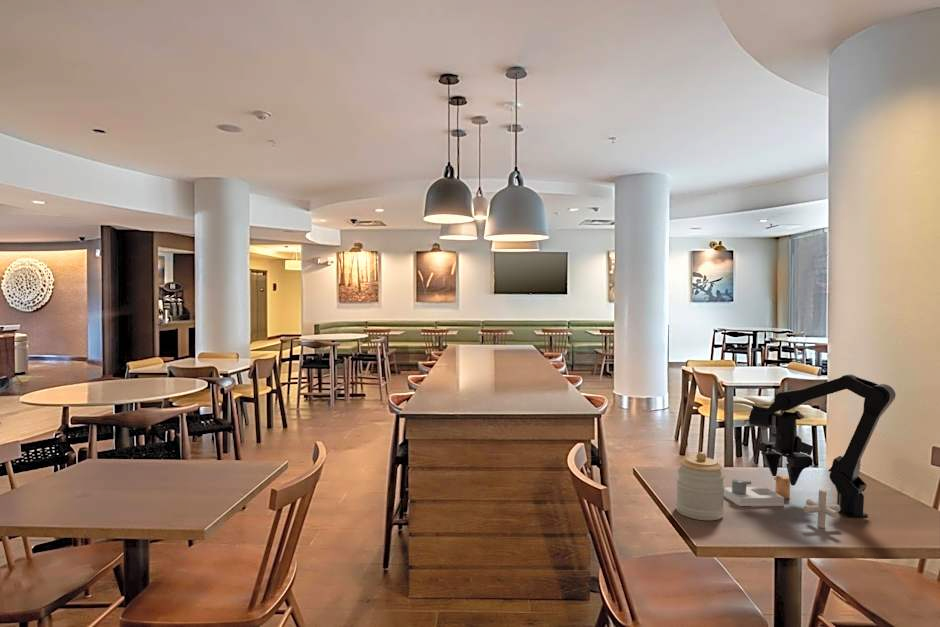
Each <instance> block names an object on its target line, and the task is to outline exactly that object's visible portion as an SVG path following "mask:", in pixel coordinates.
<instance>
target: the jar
mask: <svg viewBox="0 0 940 627" xmlns="http://www.w3.org/2000/svg"><path fill="white" fill-rule="evenodd" d="M679 463H680V466H679V467H678V468H676V471H677V473H678V478H677V479H676V500H675V507H676V508H675V509H676V511H677V513H678V514H680V515H682V516H684V517H686V518H690V519H694V520H700V521H718V520H720V519H722V518H723V515H724V512H725V507H724V498H725V497H724V489H725V485H724V479H725V478H726V473H724V472H723V471H722V469H723V465H721V463H719V462H718V461H717V460H715V459H713V458H710V457H707V455H706V453H704V452H702V451H699V452H697V453H696V456H694V455H693V456H687V457H686V458H684V459H681V460H680V461H679Z"/></svg>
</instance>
